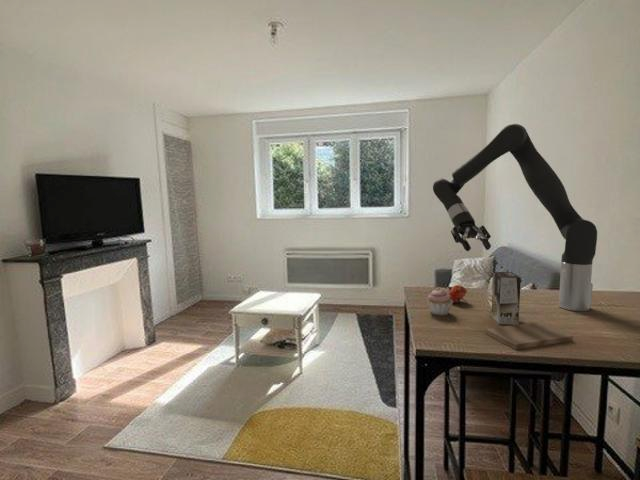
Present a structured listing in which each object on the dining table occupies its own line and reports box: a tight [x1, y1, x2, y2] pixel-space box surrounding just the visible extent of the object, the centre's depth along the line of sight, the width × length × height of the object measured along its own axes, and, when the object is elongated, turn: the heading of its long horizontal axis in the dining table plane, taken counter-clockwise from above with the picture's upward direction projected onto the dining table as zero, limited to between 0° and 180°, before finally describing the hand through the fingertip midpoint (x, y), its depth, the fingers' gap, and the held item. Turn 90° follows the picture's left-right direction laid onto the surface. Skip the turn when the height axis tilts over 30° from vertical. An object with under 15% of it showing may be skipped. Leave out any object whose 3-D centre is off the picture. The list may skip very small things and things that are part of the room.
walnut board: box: [485, 321, 574, 351], centre depth 106 cm, size 20×12×2 cm, turn 104°
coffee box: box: [491, 271, 522, 326], centre depth 119 cm, size 9×6×16 cm
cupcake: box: [426, 286, 454, 317], centre depth 128 cm, size 9×9×10 cm
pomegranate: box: [446, 284, 468, 304], centre depth 140 cm, size 7×7×10 cm
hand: (479, 249), depth 131 cm, fingers open, 8 cm apart
